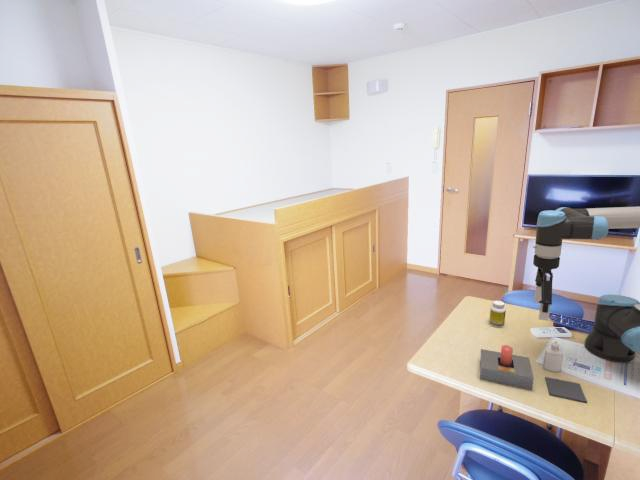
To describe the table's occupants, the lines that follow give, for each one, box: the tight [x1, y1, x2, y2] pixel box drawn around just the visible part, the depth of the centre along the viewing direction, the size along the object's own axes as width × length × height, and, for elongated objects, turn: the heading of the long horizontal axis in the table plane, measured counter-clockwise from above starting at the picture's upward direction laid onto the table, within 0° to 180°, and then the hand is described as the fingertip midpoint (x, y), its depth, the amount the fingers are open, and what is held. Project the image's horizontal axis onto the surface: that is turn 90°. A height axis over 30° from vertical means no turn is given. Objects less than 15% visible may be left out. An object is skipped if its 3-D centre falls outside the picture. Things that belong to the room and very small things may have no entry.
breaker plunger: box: [500, 345, 514, 367], centre depth 120 cm, size 4×4×6 cm
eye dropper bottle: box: [542, 339, 565, 373], centre depth 122 cm, size 4×6×12 cm
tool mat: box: [544, 376, 588, 404], centre depth 113 cm, size 10×9×1 cm
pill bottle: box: [488, 300, 507, 328], centre depth 154 cm, size 6×6×11 cm
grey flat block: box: [479, 348, 535, 391], centre depth 122 cm, size 16×12×5 cm
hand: (540, 310), depth 121 cm, fingers open, 13 cm apart
